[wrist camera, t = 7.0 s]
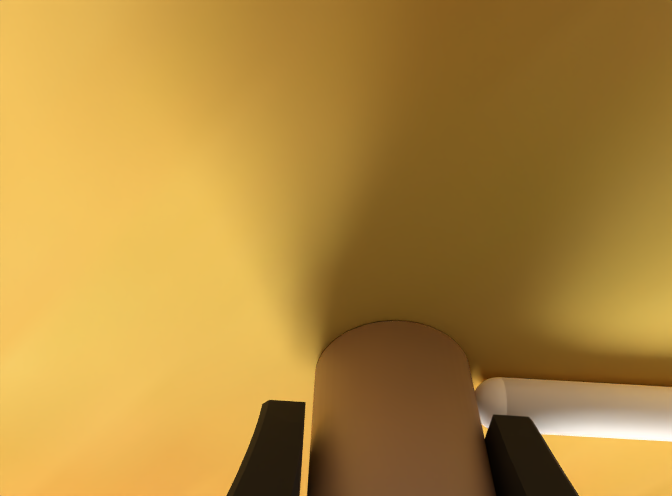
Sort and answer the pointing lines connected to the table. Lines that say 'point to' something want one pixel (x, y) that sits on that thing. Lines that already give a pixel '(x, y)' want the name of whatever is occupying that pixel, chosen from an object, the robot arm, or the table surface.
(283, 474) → the robot arm
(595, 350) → the table surface
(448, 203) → the table surface
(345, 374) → the tethered block
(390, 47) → the table surface
